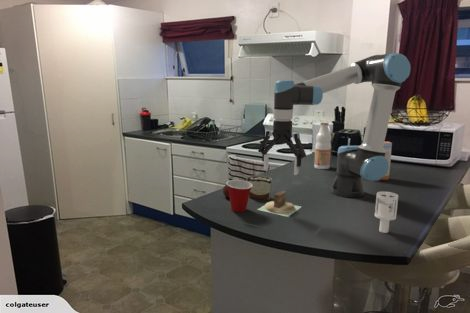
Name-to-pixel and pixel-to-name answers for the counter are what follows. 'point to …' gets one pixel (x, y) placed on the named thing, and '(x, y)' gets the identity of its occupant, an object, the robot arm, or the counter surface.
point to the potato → (226, 191)
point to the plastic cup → (239, 194)
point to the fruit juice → (323, 147)
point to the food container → (260, 186)
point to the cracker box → (387, 157)
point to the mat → (281, 213)
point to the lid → (279, 204)
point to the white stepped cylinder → (386, 209)
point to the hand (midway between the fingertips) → (280, 171)
